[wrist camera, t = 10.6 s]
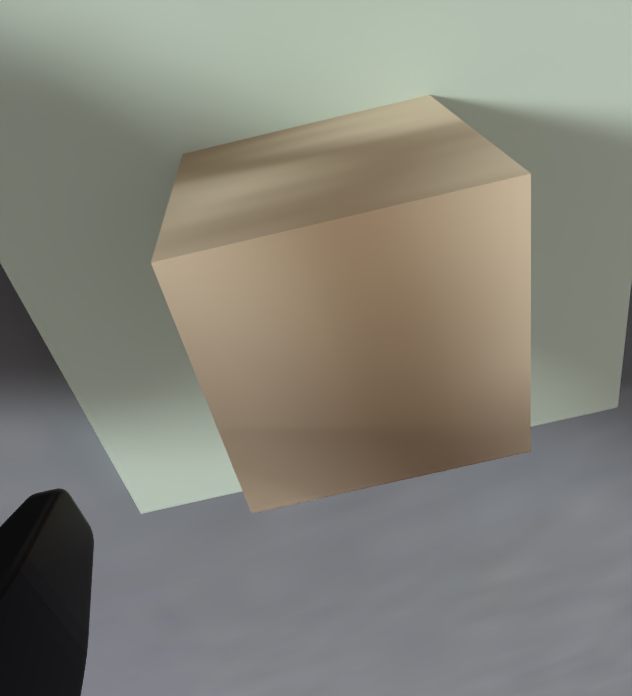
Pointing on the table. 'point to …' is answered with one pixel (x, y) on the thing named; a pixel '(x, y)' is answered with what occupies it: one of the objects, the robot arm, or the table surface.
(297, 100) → the green pad
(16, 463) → the table surface
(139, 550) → the table surface
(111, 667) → the table surface
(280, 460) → the birch cube
